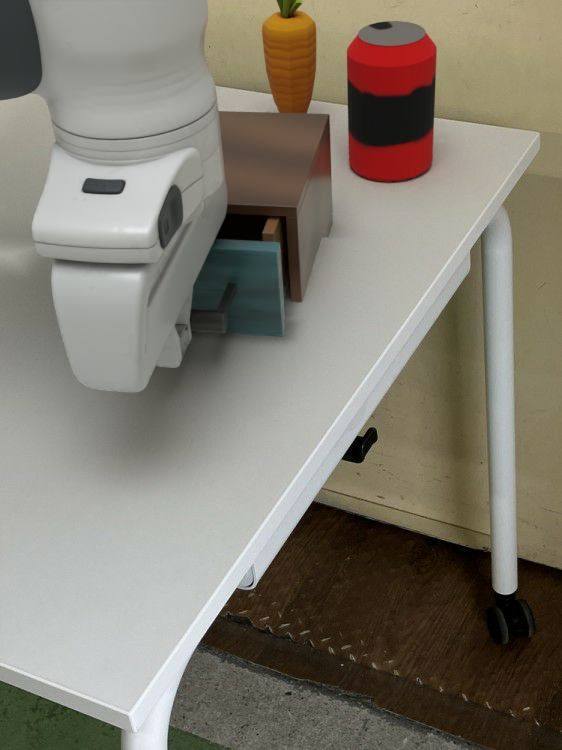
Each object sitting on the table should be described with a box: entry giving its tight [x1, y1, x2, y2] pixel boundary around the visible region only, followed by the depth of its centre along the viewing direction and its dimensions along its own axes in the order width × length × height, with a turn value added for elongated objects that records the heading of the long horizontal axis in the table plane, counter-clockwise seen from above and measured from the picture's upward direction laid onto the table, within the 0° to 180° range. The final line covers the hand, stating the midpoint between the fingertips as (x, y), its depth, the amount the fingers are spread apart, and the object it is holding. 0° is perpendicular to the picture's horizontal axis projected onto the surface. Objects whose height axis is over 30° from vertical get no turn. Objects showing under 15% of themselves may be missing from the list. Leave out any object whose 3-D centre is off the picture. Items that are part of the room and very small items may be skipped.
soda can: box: [346, 20, 438, 183], centre depth 88 cm, size 8×8×12 cm
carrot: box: [261, 0, 317, 113], centre depth 93 cm, size 5×5×15 cm
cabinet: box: [218, 110, 334, 303], centre depth 77 cm, size 15×13×10 cm
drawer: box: [190, 214, 290, 338], centre depth 72 cm, size 18×11×8 cm, turn 169°
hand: (173, 353), depth 64 cm, fingers closed
